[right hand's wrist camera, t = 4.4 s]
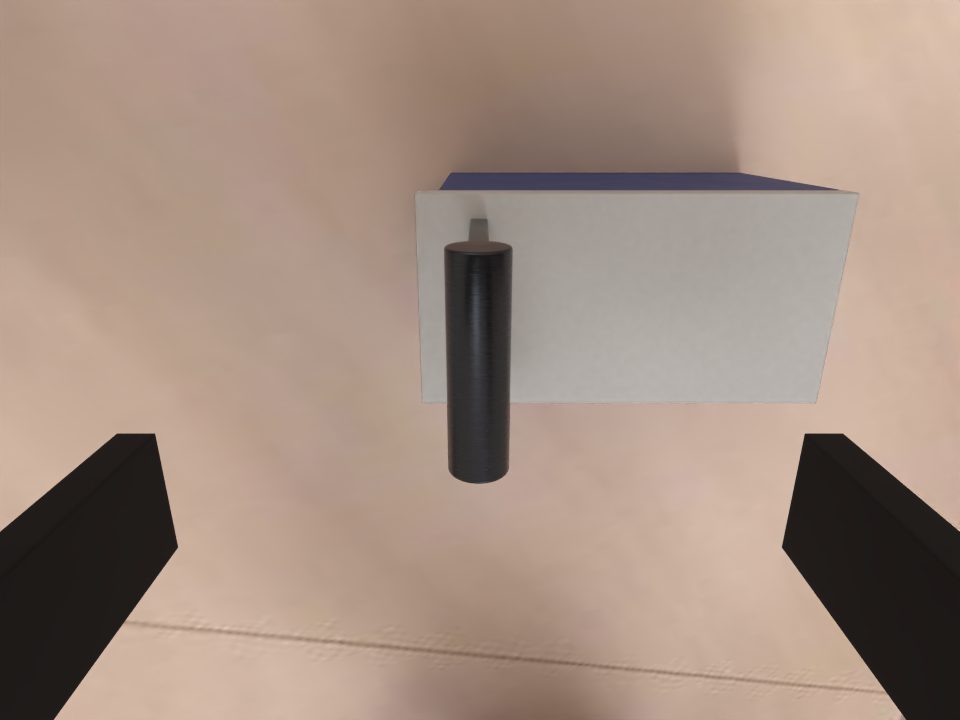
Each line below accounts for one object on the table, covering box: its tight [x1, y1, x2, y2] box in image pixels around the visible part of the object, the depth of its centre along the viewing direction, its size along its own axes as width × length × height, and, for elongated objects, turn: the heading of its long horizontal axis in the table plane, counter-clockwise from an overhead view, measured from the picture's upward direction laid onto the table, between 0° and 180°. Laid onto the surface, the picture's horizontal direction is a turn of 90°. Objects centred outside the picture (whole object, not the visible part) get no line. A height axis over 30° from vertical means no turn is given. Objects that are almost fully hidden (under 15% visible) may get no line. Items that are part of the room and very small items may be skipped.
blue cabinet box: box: [440, 173, 837, 190], centre depth 33 cm, size 17×9×11 cm, turn 90°
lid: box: [415, 190, 859, 484], centre depth 23 cm, size 18×9×9 cm, turn 90°
